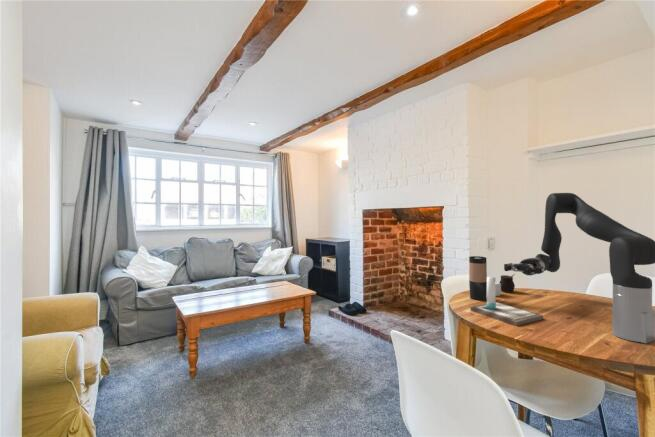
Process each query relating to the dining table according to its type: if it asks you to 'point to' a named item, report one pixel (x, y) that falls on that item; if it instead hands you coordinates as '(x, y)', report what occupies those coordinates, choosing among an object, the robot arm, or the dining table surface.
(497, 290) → the white cube
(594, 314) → the dining table surface
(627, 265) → the robot arm
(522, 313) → the board
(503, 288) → the mate gourd
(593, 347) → the dining table surface
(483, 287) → the travel mug
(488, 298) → the cylinder
